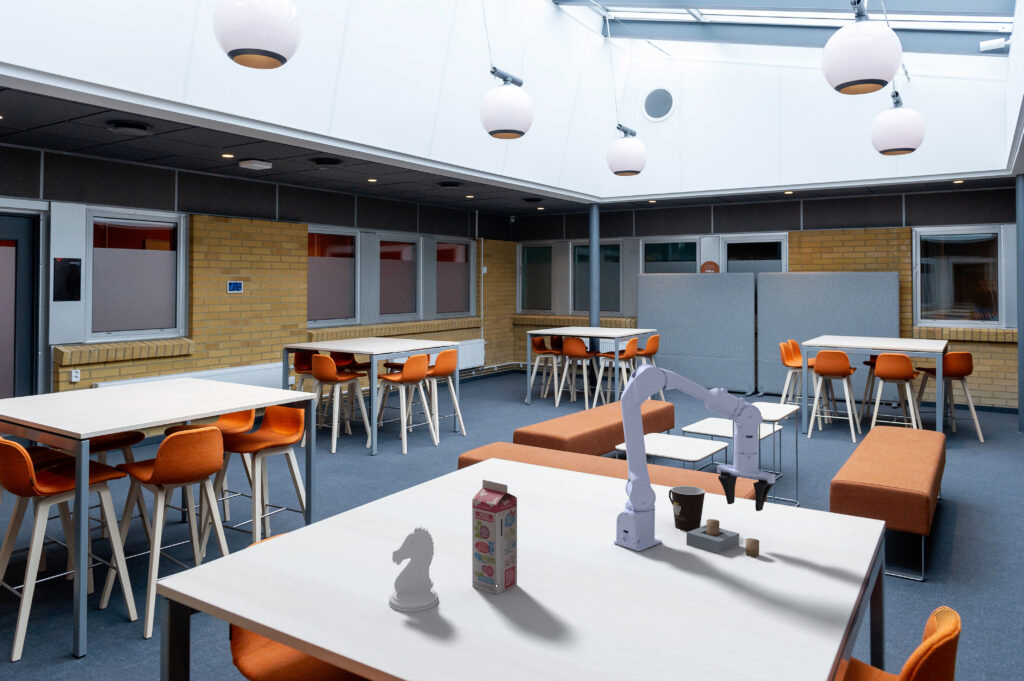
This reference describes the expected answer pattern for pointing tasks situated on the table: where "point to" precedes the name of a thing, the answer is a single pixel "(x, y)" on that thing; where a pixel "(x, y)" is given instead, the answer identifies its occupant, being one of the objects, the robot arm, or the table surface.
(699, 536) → the hole block
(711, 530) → the long dowel
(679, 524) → the coffee mug
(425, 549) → the chess piece
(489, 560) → the juice carton
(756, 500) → the robot arm
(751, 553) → the short dowel
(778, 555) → the table surface
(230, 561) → the table surface
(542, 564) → the table surface
